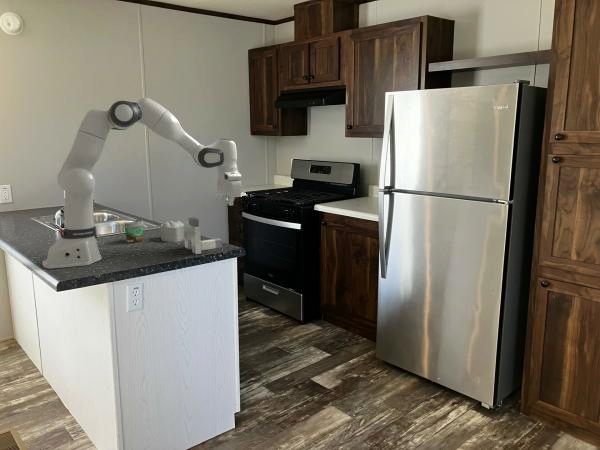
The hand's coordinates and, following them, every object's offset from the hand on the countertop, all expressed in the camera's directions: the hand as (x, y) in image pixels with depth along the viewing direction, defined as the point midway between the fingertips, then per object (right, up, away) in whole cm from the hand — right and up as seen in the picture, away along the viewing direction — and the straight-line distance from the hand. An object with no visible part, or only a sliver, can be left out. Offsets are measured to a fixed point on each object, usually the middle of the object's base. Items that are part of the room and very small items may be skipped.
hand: (229, 204), depth 234 cm
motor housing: (-16, -21, -5) cm, 26 cm away
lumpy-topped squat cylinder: (-30, -17, +18) cm, 39 cm away
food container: (-46, -18, +13) cm, 51 cm away
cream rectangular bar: (-9, -20, -2) cm, 22 cm away
